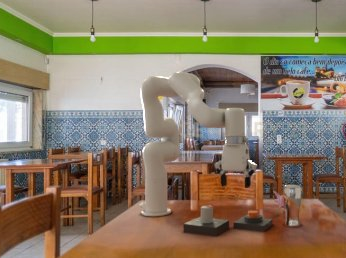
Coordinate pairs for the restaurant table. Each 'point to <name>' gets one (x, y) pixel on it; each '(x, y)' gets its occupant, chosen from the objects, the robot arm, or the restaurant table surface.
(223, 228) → the panel
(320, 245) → the restaurant table surface
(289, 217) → the beer glass
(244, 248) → the restaurant table surface
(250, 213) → the power button
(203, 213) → the timer knob
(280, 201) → the lily
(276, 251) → the restaurant table surface
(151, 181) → the robot arm
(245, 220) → the power block
